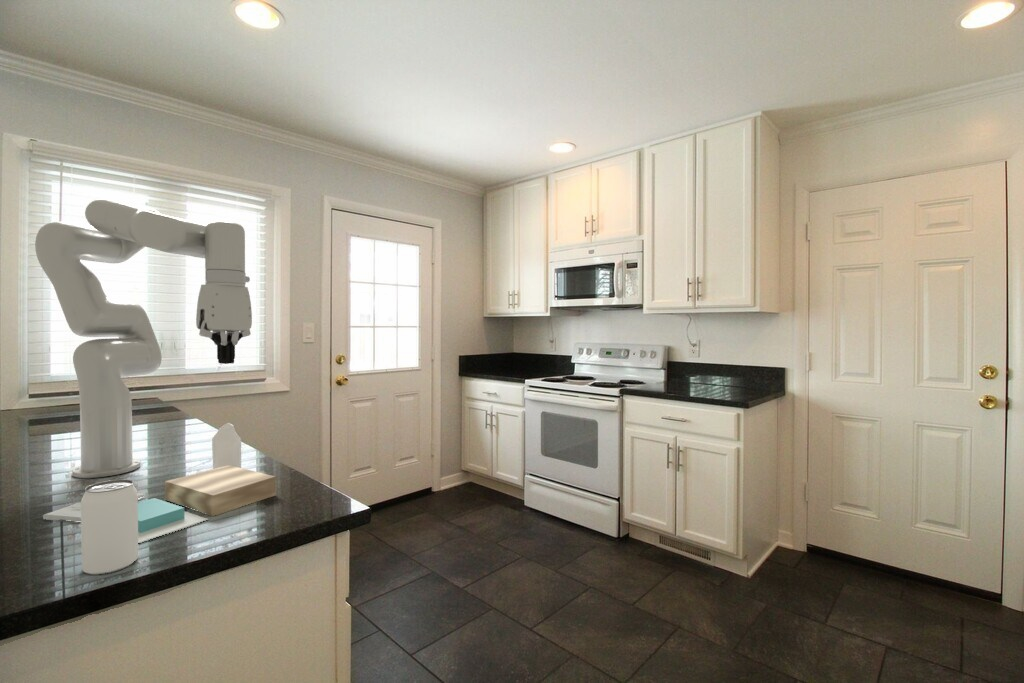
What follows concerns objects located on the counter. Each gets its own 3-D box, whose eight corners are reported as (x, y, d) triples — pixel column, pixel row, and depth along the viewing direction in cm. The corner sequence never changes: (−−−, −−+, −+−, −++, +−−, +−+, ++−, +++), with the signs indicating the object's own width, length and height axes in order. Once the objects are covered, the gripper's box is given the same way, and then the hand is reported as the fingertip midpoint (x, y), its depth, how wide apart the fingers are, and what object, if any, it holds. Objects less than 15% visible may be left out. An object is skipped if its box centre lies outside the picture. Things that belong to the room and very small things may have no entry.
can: (104, 555, 75) (102, 478, 75) (148, 554, 76) (147, 478, 75) (69, 576, 69) (68, 493, 68) (118, 575, 69) (117, 492, 69)
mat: (86, 521, 88) (86, 520, 87) (154, 502, 97) (154, 500, 97) (139, 544, 79) (138, 542, 79) (207, 520, 89) (207, 518, 89)
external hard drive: (143, 501, 99) (81, 525, 87) (109, 498, 101) (42, 522, 88) (143, 493, 99) (81, 516, 87) (109, 490, 101) (42, 513, 88)
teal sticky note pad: (154, 497, 93) (154, 508, 93) (110, 510, 87) (110, 521, 87) (184, 507, 89) (184, 518, 89) (140, 521, 83) (140, 532, 83)
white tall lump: (211, 426, 112) (212, 422, 117) (212, 478, 112) (212, 471, 117) (241, 424, 115) (240, 420, 120) (241, 474, 115) (241, 468, 120)
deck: (165, 500, 98) (165, 481, 98) (228, 482, 110) (228, 465, 109) (212, 516, 91) (212, 495, 90) (275, 495, 102) (275, 476, 102)
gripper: (247, 282, 115) (247, 360, 116) (179, 277, 102) (180, 364, 102) (267, 282, 111) (268, 362, 112) (200, 275, 98) (201, 366, 99)
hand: (226, 363), depth 107 cm, fingers closed
